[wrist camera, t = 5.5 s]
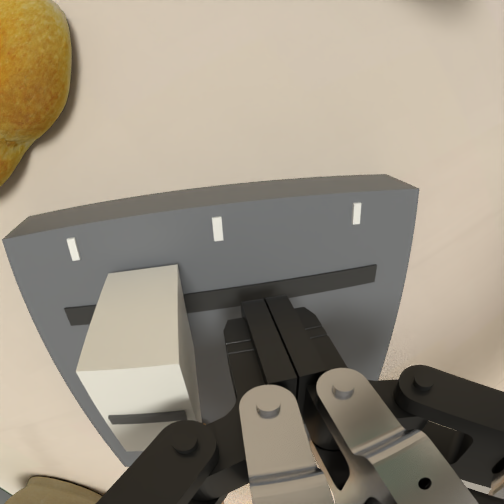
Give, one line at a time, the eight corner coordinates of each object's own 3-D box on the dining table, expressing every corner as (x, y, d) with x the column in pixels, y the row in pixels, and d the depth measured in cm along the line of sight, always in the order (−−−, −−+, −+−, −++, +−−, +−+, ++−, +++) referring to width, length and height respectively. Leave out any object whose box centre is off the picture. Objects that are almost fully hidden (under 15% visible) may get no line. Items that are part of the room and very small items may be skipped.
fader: (177, 264, 10) (179, 366, 6) (193, 346, 12) (205, 449, 8) (108, 273, 10) (74, 374, 6) (134, 353, 11) (126, 454, 7)
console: (385, 174, 13) (420, 189, 11) (347, 400, 20) (362, 427, 18) (28, 216, 11) (0, 240, 9) (126, 437, 18) (125, 467, 16)
